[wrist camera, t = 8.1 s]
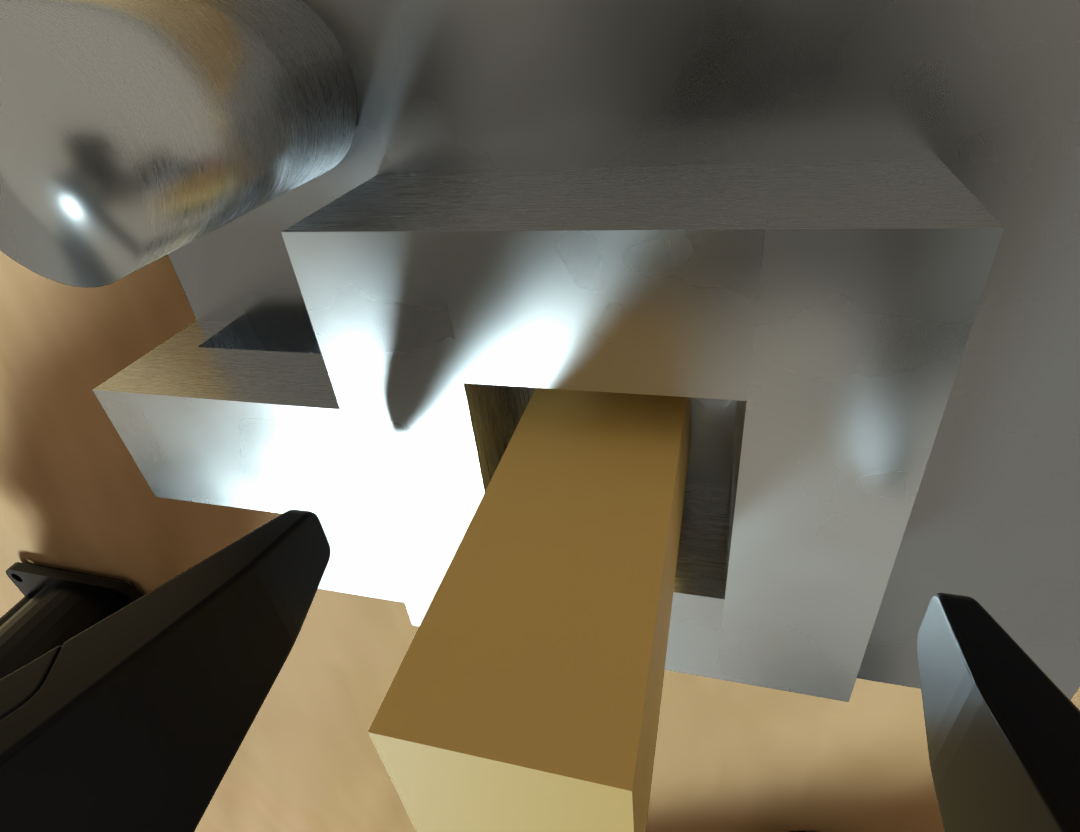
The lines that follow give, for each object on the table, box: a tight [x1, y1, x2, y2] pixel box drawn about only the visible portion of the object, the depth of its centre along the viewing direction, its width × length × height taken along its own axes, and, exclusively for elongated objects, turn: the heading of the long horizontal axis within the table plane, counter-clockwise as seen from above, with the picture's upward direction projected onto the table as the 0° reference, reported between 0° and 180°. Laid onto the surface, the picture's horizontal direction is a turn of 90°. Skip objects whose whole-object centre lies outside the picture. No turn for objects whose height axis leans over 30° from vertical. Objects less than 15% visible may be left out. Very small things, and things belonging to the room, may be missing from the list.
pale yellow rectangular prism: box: [368, 388, 691, 832], centre depth 10 cm, size 3×3×8 cm
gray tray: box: [0, 0, 1080, 702], centre depth 11 cm, size 20×16×6 cm
